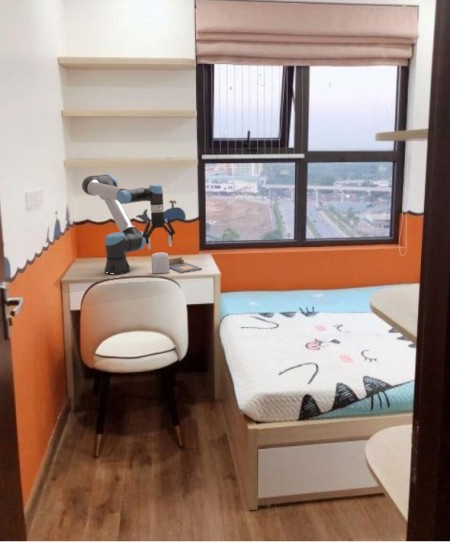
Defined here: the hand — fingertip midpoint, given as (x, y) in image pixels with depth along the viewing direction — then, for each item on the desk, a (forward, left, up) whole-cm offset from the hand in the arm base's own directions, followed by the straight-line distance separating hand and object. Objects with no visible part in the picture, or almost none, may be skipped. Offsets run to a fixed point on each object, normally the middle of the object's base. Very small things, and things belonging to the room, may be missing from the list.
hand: (159, 247), depth 308 cm
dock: (+16, +2, -15) cm, 22 cm away
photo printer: (0, 0, -16) cm, 16 cm away
